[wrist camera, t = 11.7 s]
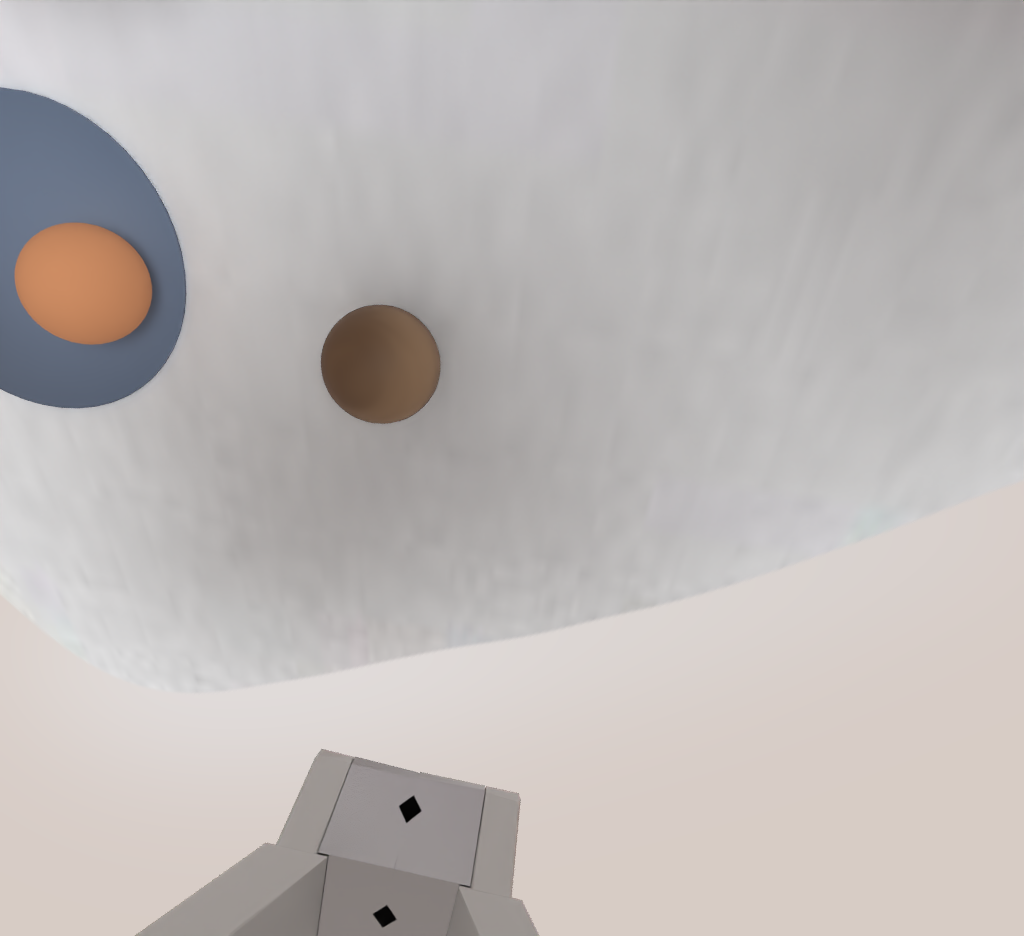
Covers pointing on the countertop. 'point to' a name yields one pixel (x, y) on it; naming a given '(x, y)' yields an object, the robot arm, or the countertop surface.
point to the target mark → (79, 199)
